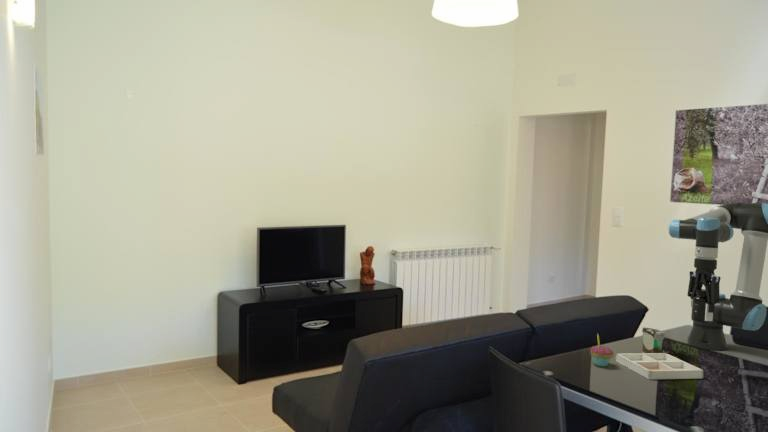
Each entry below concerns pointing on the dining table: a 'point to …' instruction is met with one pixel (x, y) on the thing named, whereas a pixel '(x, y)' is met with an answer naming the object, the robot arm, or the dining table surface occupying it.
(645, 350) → the food container
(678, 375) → the organiser
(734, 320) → the robot arm
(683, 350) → the dining table surface
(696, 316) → the supplement bottle
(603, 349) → the cupcake
